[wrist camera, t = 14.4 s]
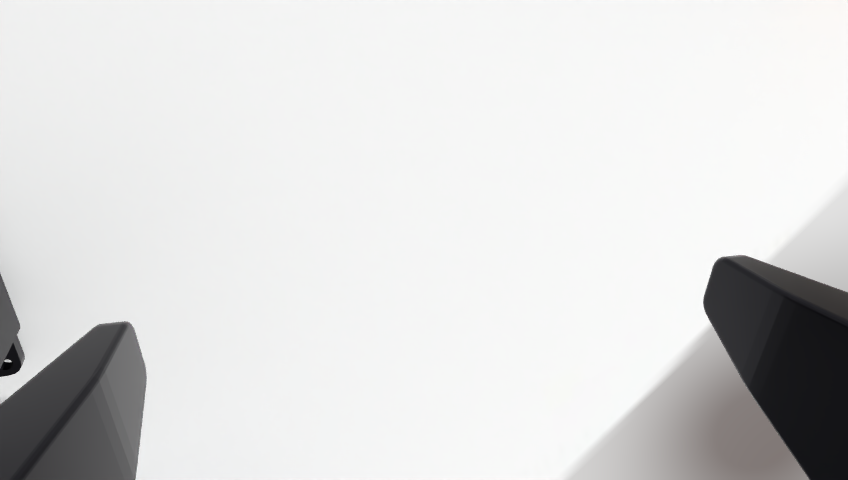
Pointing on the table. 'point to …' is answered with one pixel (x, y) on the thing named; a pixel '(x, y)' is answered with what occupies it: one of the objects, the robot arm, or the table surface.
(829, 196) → the table surface
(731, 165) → the table surface
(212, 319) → the table surface
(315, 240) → the table surface
